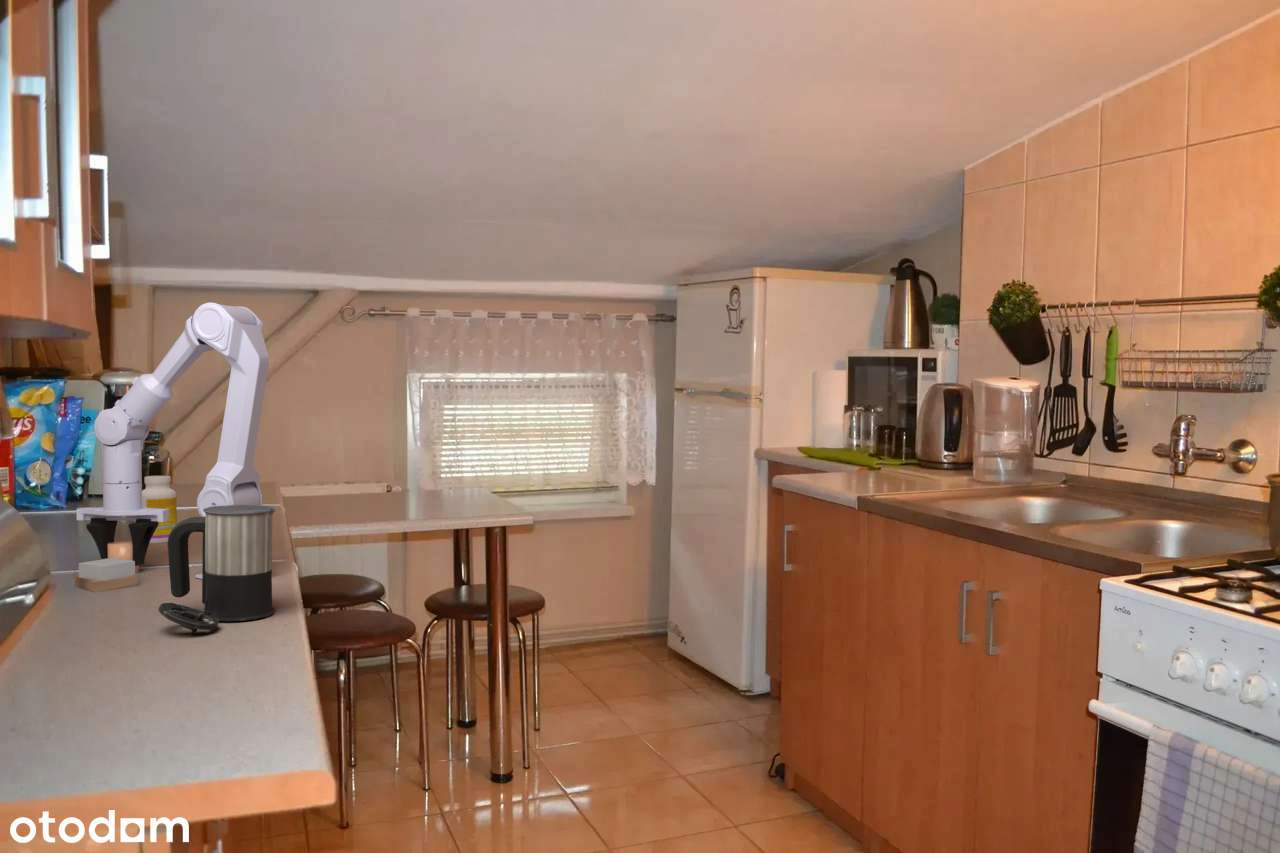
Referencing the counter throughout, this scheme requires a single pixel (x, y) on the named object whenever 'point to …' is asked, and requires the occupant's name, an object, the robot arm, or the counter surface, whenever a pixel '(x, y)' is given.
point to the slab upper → (106, 569)
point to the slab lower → (106, 583)
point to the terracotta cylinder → (121, 551)
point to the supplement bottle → (160, 504)
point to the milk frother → (224, 566)
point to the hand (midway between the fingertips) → (123, 564)
